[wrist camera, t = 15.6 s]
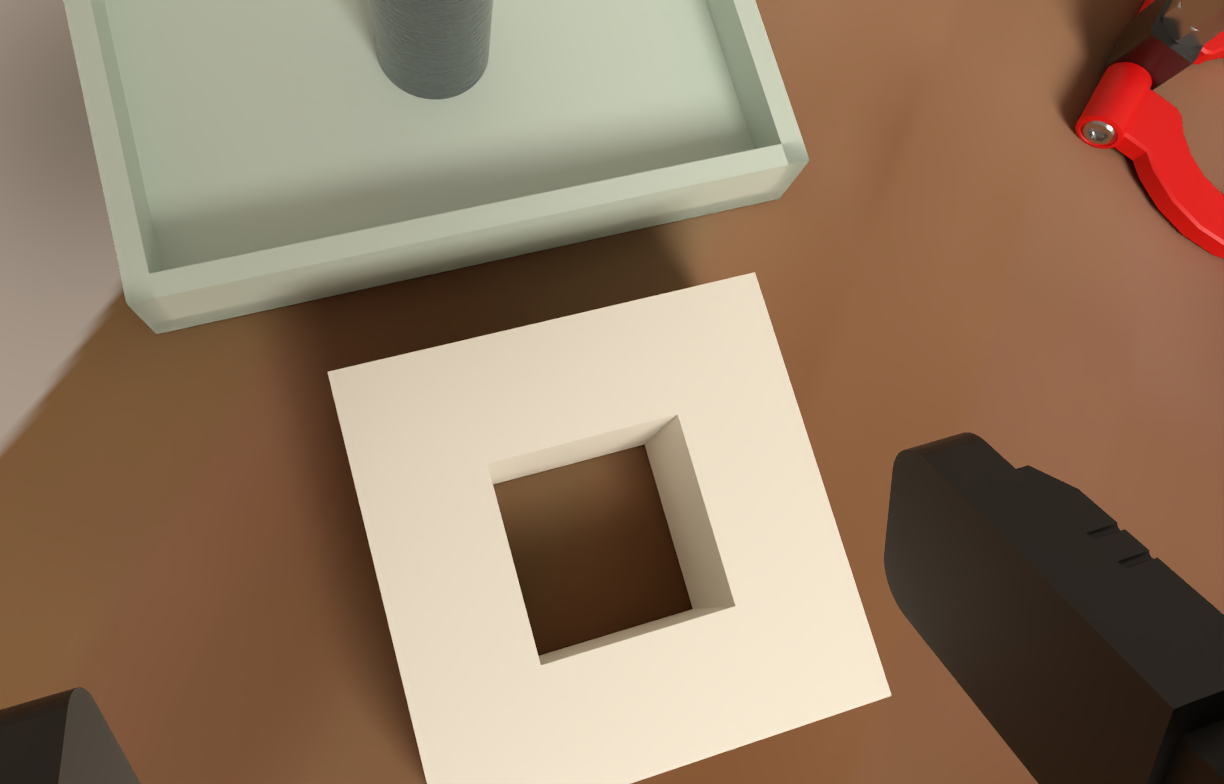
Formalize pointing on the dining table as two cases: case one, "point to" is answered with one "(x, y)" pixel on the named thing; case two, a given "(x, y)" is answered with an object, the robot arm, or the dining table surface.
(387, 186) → the tray
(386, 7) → the metal pin
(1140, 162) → the tow hook
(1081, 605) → the robot arm
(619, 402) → the socket block
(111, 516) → the dining table surface
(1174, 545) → the dining table surface
